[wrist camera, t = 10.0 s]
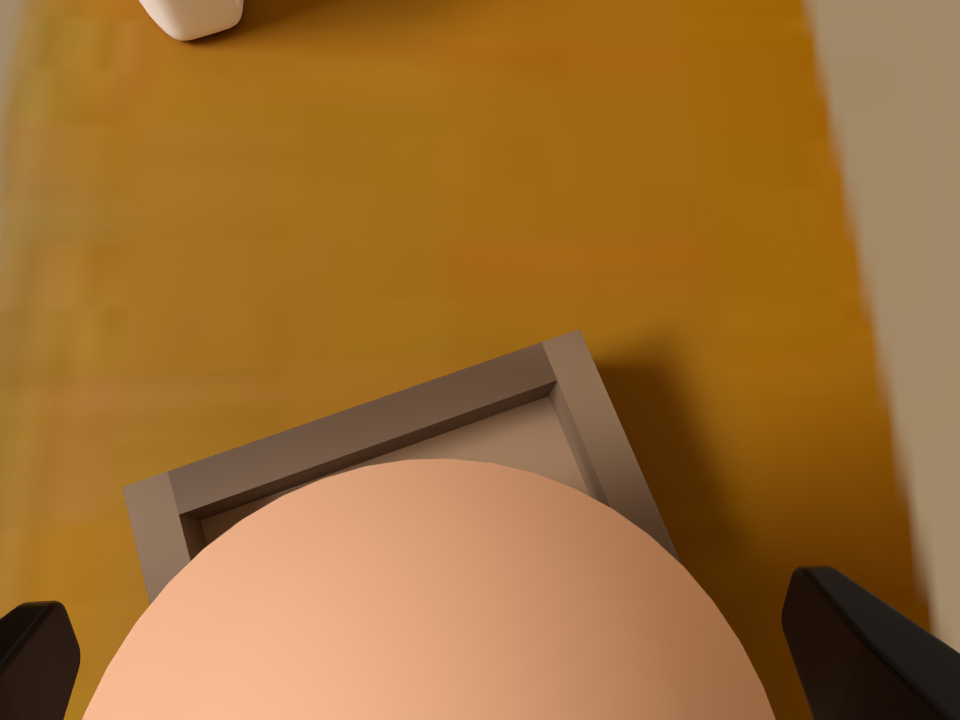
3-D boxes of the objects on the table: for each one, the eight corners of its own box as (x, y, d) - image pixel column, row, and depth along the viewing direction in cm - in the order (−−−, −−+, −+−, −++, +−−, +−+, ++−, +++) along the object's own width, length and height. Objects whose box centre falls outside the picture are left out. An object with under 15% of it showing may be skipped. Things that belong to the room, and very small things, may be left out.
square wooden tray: (733, 773, 18) (790, 810, 15) (291, 978, 16) (258, 1063, 13) (560, 364, 20) (579, 329, 18) (171, 502, 19) (122, 487, 16)
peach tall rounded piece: (564, 700, 16) (941, 1088, 4) (380, 779, 16) (148, 1529, 3) (496, 515, 18) (622, 369, 5) (321, 582, 17) (-21, 602, 4)
